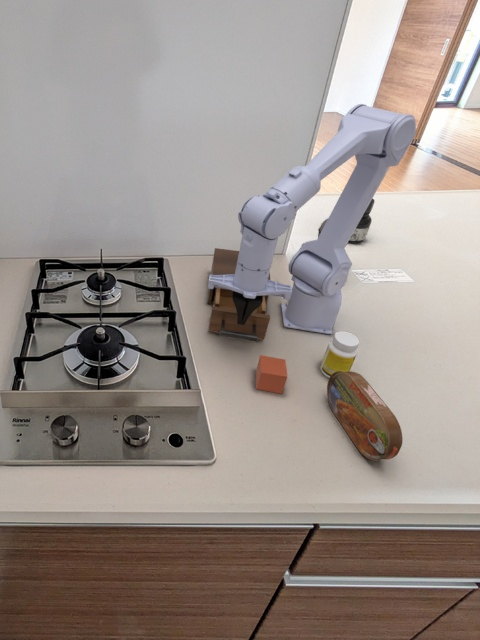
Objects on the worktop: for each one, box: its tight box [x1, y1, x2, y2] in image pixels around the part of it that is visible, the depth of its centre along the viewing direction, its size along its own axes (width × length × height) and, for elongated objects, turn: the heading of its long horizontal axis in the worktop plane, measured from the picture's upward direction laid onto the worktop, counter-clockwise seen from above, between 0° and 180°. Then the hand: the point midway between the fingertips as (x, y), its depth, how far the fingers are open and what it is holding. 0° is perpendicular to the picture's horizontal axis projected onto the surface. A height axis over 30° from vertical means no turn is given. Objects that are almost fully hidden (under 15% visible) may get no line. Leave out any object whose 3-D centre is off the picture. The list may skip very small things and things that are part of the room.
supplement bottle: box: [319, 330, 360, 379], centre depth 80 cm, size 5×5×8 cm
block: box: [255, 354, 288, 395], centre depth 79 cm, size 4×4×4 cm
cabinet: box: [207, 247, 271, 306], centre depth 102 cm, size 13×12×7 cm
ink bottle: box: [347, 197, 376, 245], centre depth 123 cm, size 10×9×12 cm
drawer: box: [207, 288, 271, 343], centre depth 91 cm, size 17×11×6 cm, turn 165°
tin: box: [326, 371, 403, 462], centre depth 69 cm, size 15×3×8 cm, turn 5°
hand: (240, 321), depth 85 cm, fingers closed
